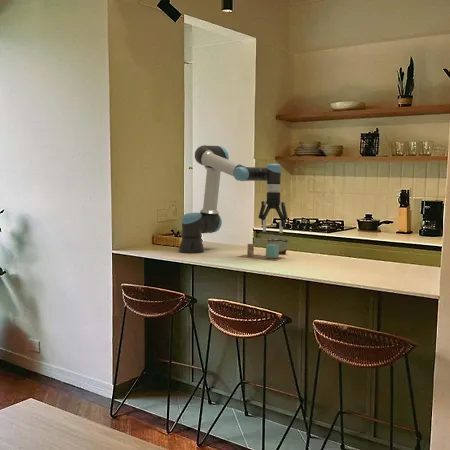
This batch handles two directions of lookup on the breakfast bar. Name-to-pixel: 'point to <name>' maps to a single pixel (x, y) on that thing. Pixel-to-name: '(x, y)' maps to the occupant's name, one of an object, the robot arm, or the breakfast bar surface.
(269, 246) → the teal rectangular block
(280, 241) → the food container
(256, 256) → the board
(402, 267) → the breakfast bar surface
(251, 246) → the post
